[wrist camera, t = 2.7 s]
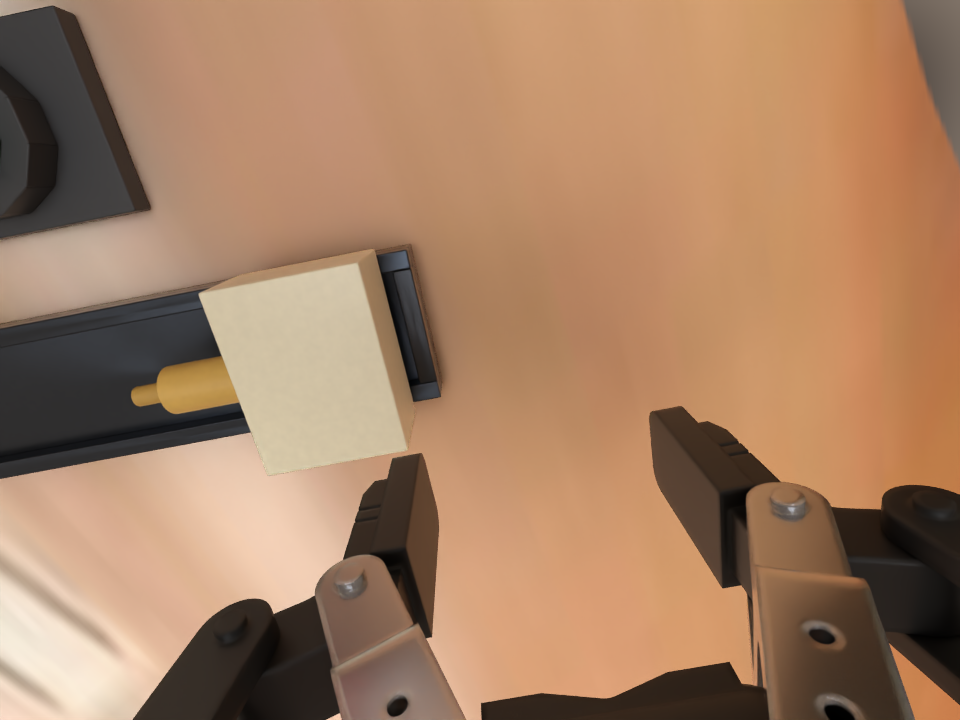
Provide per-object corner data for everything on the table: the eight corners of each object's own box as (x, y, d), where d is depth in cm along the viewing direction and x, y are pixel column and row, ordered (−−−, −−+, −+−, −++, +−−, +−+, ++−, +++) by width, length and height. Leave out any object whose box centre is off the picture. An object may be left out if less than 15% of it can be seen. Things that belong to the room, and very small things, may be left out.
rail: (-30, 470, 32) (-64, 491, 30) (-107, 345, 29) (-150, 357, 27) (442, 382, 31) (441, 397, 29) (410, 243, 28) (406, 249, 26)
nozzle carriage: (206, 441, 30) (152, 498, 25) (143, 290, 27) (65, 319, 22) (417, 401, 30) (408, 451, 25) (378, 244, 27) (357, 262, 22)
